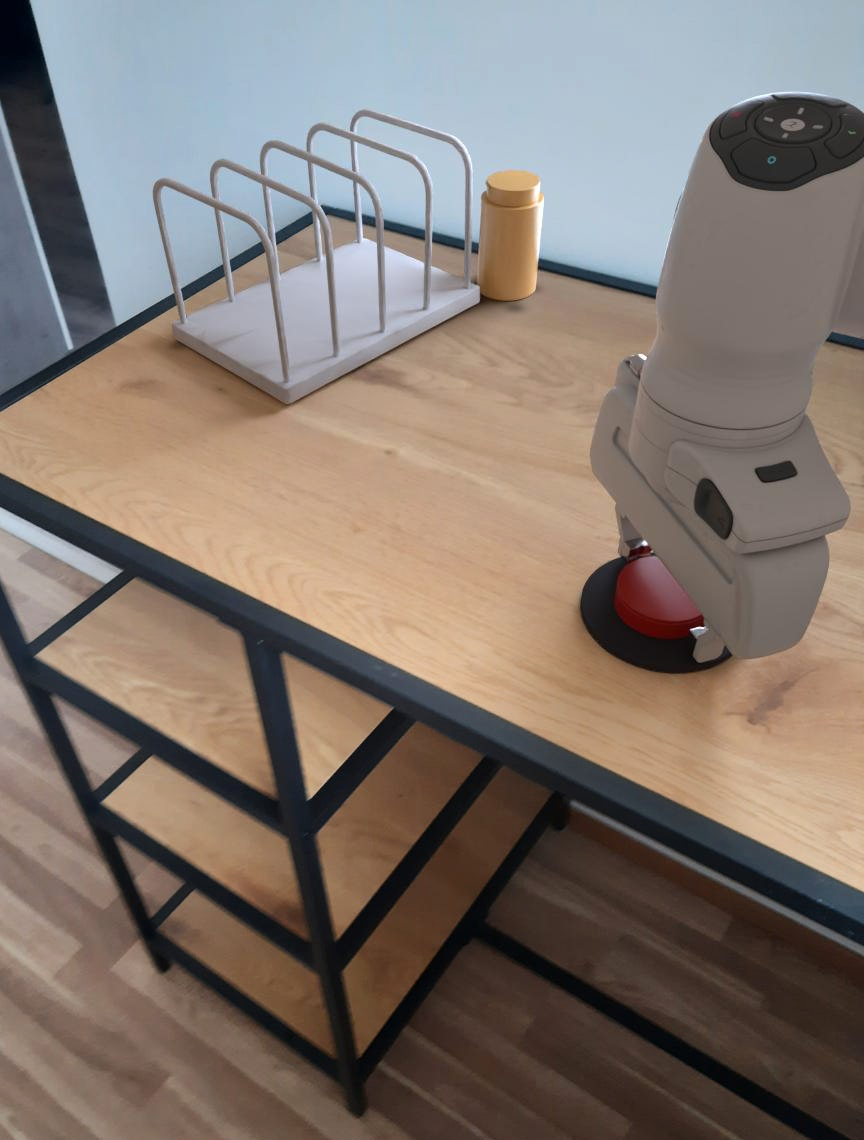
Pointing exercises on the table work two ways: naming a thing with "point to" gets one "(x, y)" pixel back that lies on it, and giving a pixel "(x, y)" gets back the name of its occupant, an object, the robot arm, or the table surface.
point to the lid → (654, 601)
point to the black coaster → (626, 640)
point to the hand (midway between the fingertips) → (665, 603)
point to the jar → (509, 235)
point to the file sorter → (322, 280)
